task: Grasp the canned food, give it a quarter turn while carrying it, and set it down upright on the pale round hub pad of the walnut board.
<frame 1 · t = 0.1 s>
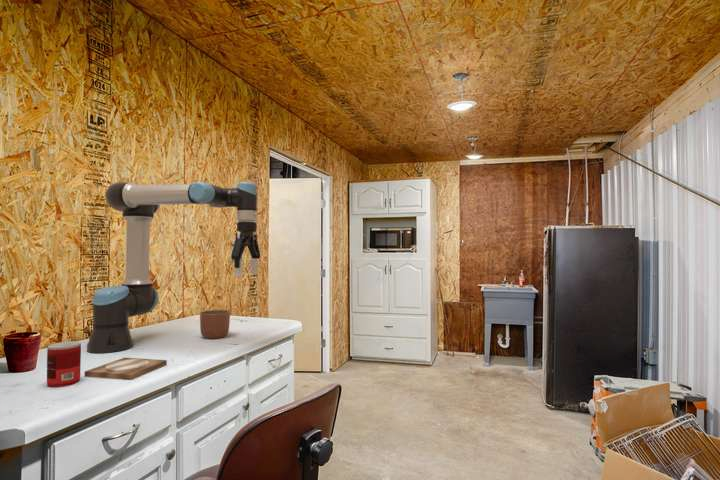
hand: (246, 275, 161), 28 cm above the worktop, fingers open, 13 cm apart
canned food: (63, 383, 117), on the worktop
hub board: (127, 370, 129), on the worktop
planter: (214, 337, 178), on the worktop
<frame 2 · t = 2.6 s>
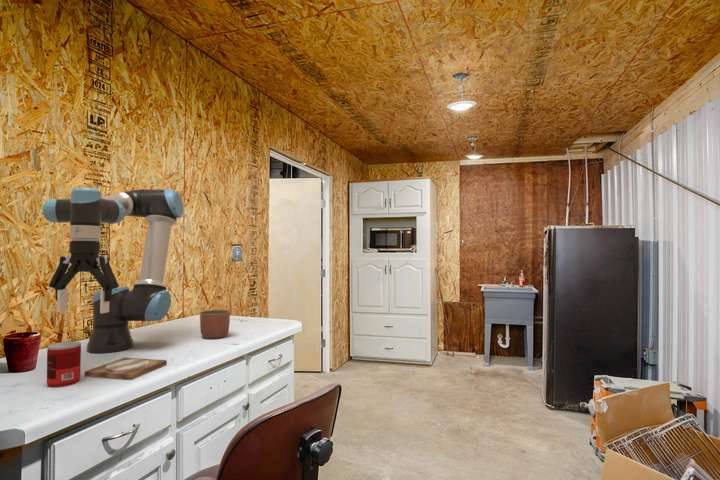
hand: (83, 312, 121), 20 cm above the worktop, fingers open, 13 cm apart
nothing on the worktop moved.
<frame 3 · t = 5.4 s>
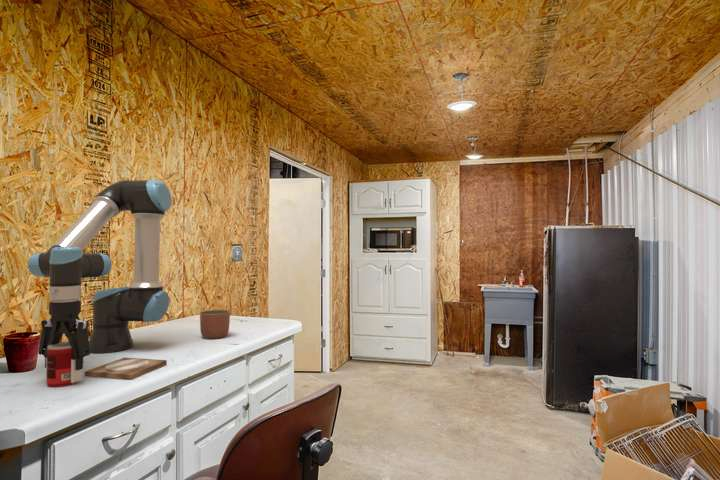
hand: (63, 380, 117), 1 cm above the worktop, fingers closed on canned food, 8 cm apart
canned food: (63, 383, 117), on the worktop, touching gripper
everything else where it was.
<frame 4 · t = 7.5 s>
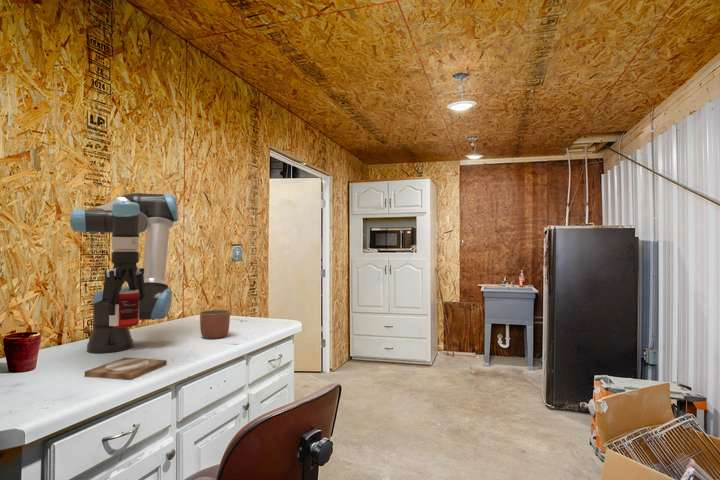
hand: (124, 323, 129), 15 cm above the worktop, fingers closed on canned food, 8 cm apart
canned food: (124, 326, 129), point 14 cm above the worktop, touching gripper
everything else where it was.
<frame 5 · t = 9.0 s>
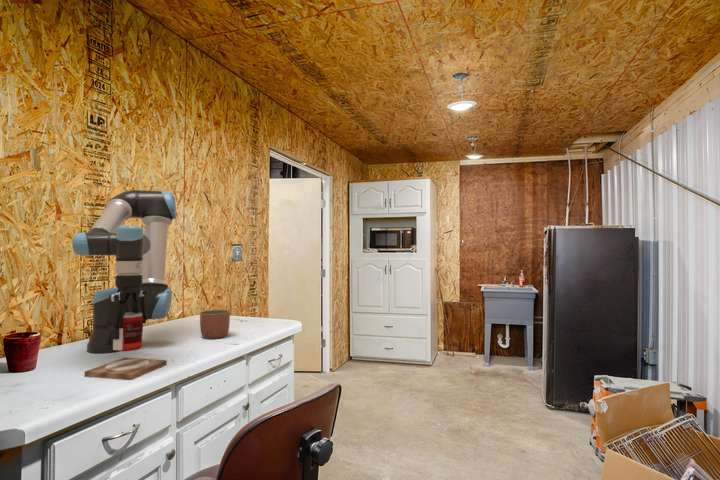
hand: (127, 346, 129), 8 cm above the worktop, fingers closed on canned food, 8 cm apart
canned food: (128, 349, 129), point 7 cm above the worktop, touching gripper
everything else where it was.
when the fingers open (4 cm above the worktop, at t = 10.1 s): canned food drops 1 cm, resting on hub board.
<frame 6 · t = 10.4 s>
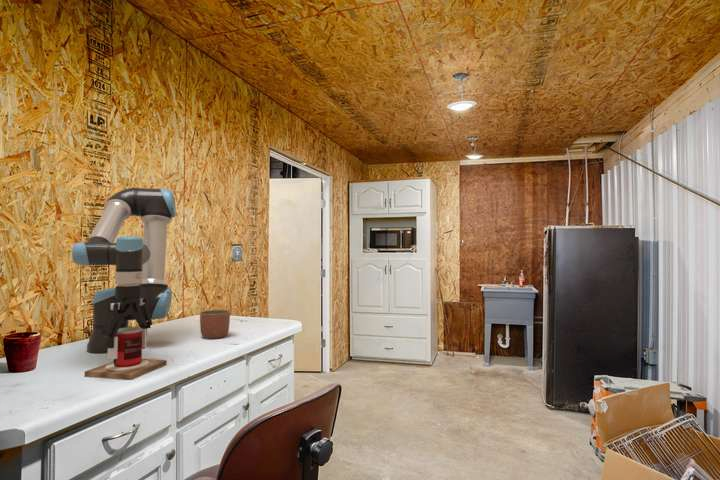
hand: (127, 353, 129), 5 cm above the worktop, fingers open, 12 cm apart
canned food: (127, 364, 129), point 2 cm above the worktop, touching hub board
everything else where it was.
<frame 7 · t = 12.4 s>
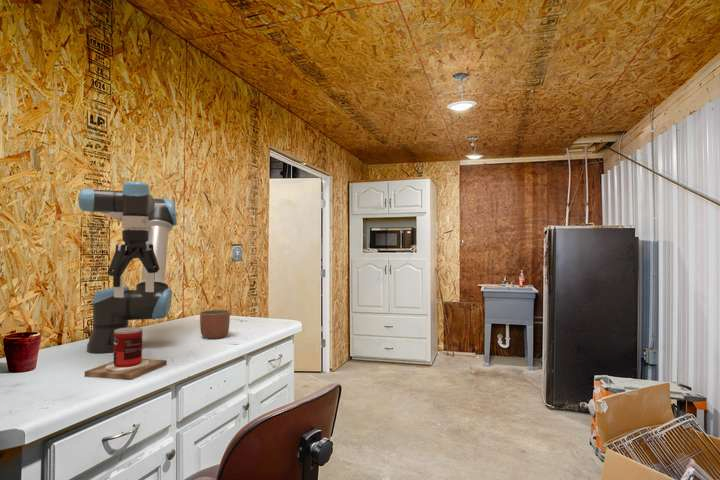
hand: (134, 294, 134), 23 cm above the worktop, fingers open, 13 cm apart
nothing on the worktop moved.
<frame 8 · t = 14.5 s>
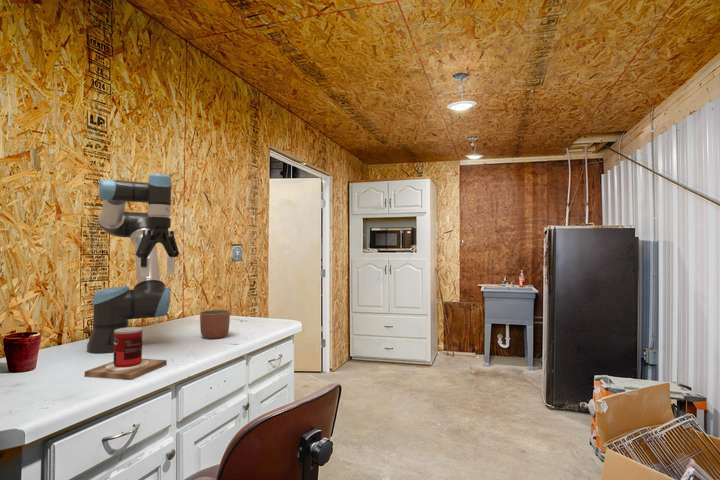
hand: (158, 275, 148), 29 cm above the worktop, fingers open, 13 cm apart
nothing on the worktop moved.
at the end: canned food 0.0 cm from the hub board (horizontally); canned food point 1.7 cm above the worktop; canned food tilted 0° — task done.
